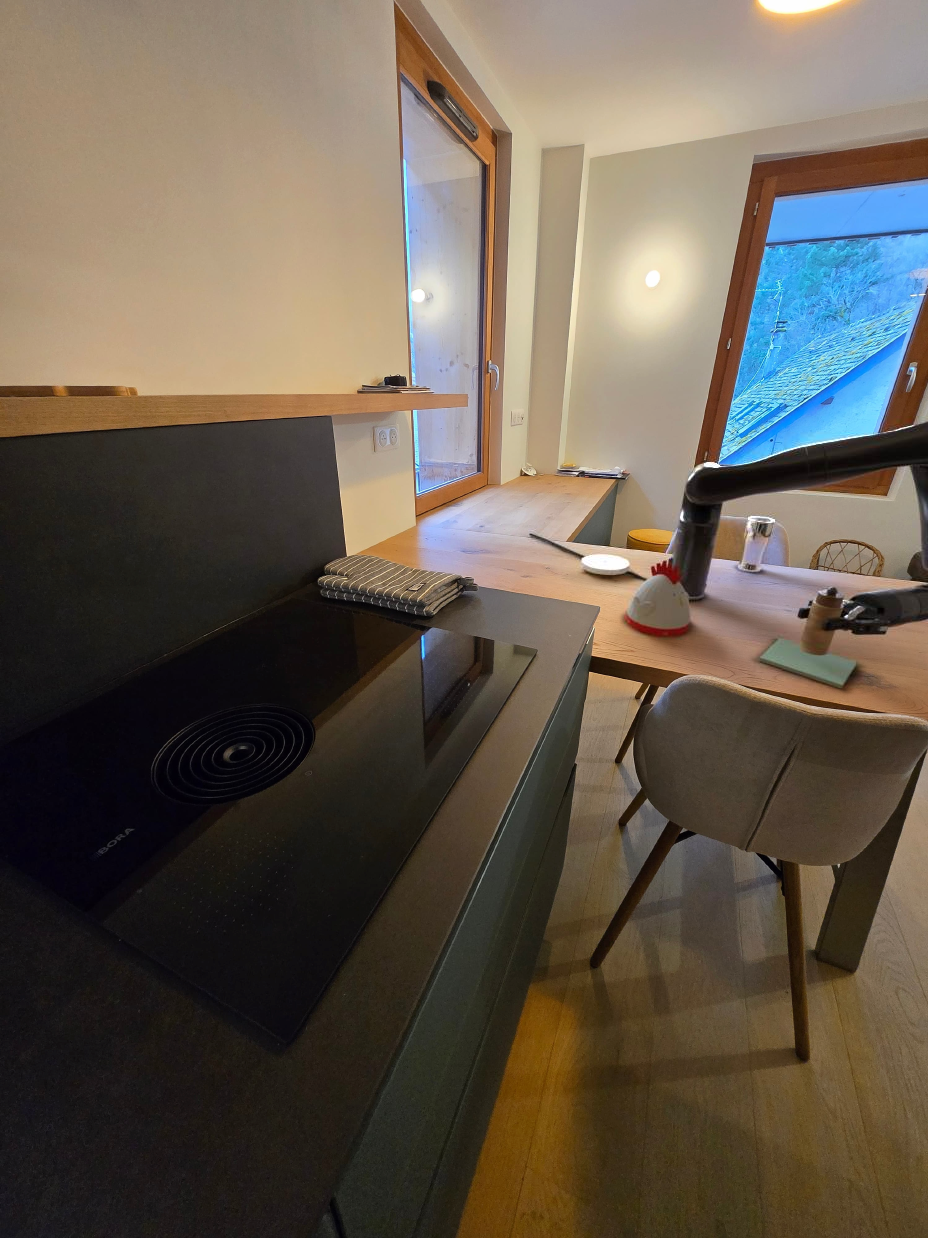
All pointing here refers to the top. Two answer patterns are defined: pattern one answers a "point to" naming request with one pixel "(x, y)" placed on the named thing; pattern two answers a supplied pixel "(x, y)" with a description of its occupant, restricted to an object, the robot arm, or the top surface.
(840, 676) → the rubber mat
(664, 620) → the kitchen timer
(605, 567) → the plastic lid
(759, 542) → the beer glass
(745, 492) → the robot arm
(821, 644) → the pepper mill
